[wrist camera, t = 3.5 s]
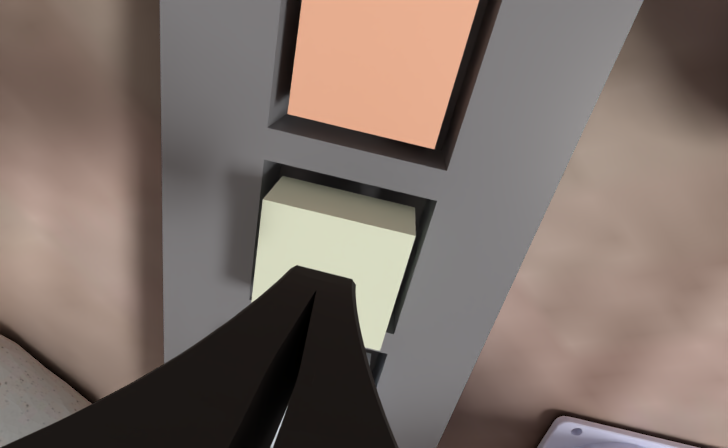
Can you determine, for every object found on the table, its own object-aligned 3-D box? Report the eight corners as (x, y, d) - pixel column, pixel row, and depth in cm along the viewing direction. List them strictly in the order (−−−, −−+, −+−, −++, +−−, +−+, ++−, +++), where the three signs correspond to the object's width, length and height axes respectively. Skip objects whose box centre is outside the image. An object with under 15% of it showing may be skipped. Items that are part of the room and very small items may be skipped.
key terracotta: (474, -16, 12) (486, -23, 10) (431, 133, 14) (434, 149, 12) (325, -52, 12) (310, -66, 10) (303, 102, 14) (287, 114, 12)
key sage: (415, 207, 13) (415, 236, 11) (383, 312, 15) (379, 351, 13) (283, 175, 13) (262, 199, 11) (268, 284, 15) (249, 319, 13)
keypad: (630, -83, 12) (697, -116, 9) (387, 500, 24) (384, 559, 22) (216, -184, 11) (156, -248, 9) (192, 454, 24) (165, 507, 22)
